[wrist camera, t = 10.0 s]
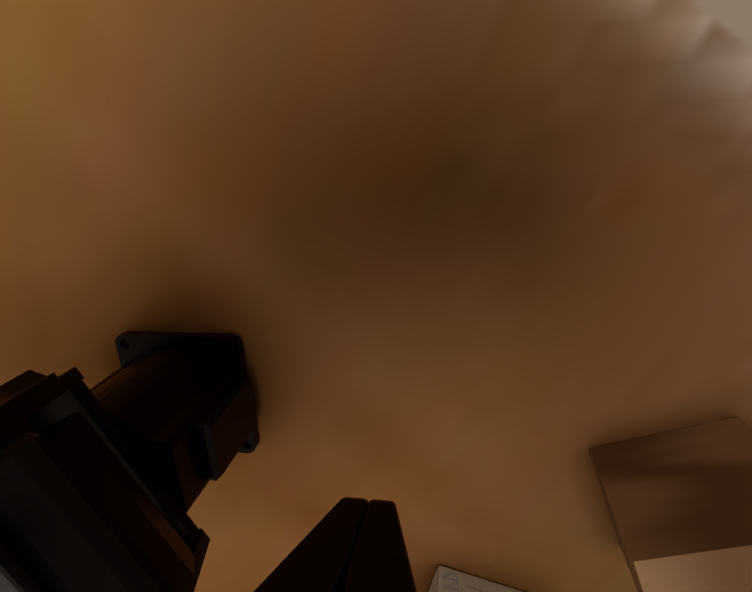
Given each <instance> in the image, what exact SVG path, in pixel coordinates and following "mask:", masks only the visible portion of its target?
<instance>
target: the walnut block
mask: <svg viewBox="0 0 752 592" xmlns="http://www.w3.org/2000/svg"><path fill="white" fill-rule="evenodd" d="M588 449H589V452H590V455H591V458H592V461H593V464H594V467H595V470H596V473H597V476H598V479H599V482H600V485H601V488H602V491H603V494H604V497H605V500H606V503H607V506H608V509H609V512H610V515H611V518H612V521H613V524H614V527H615V530H616V533H617V536H618V539H619V542H620V545H621V548H622V551H623V553H624V556H625V559H626V561H627V564H628V566H629V569H630V572H631V574H632V577H633V580H634V582H635V585H636V587H637V590H638V592H752V431H751V430H750V429H749V428H748V427H747V426H746V425H745V424H744V423H743V422H742V421H741V420H740V419H739V418H738V417H733V418H728V419H723V420H719V421H714V422H709V423H704V424H700V425H695V426H690V427H686V428H681V429H676V430H671V431H667V432H662V433H657V434H652V435H648V436H643V437H638V438H633V439H629V440H624V441H619V442H615V443H610V444H605V445H600V446H596V447H591V448H588Z"/></svg>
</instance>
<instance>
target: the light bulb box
mask: <svg viewBox="0 0 752 592" xmlns="http://www.w3.org/2000/svg"><path fill="white" fill-rule="evenodd" d="M428 592H523V591H520V590H516V589H513V588H510V587H507V586H504V585H501V584H497V583H494V582H491V581H488V580H485V579H482V578H479V577H475V576H472V575H469V574H466V573H463V572H459V571H456V570H453V569H450V568H447V567H444V566H440V565H439V566H438V567H437V570H436V572H435V575H434V578H433V580H432V583H431V586H430V589H429V591H428Z"/></svg>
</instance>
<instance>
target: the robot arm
mask: <svg viewBox="0 0 752 592" xmlns="http://www.w3.org/2000/svg"><path fill="white" fill-rule="evenodd" d="M125 340H126V341H127V342H128V343H129V345H128V344H127V343H126V341H125ZM228 342H230V343H231V344H232V345H233V347H234V348H231V347H230V346H229V345H228ZM115 343H116V347H117V351H118V355H119V359H120V362H121V366H122V367H121V368H119V369H118V370H117V371H115V372H114V373H112V374H111V375H109V376H108V377H107V378H105V379H104V380H102V381H101V382H100V383H98V384H97V385H95V386H94V387H92V388H91V389H90V390H89V388H88V387H87V386H86V384H85V383H84V382H83V381H82V379H84V377H83V376H82V374H81V373H80V372H79V371H78V369H77V368H76V367H73V368H72V369H70V370H68V371H66V372H65V373H63V374H61V375H59V376H57V375H56V374H55V373H52V374H50V375H48V376H45V375H43V374H40V373H37V372H34V371H31V370H28V371H26V372H24V373H23V374H21V375H19V376H17V377H16V378H14V379H12V380H10V381H8V382H7V383H5V384H3V385H1V386H0V592H194V590H195V586H196V583H197V580H198V577H199V574H200V570H201V567H202V564H203V561H204V558H205V554H206V551H207V548H208V545H209V541H210V538H209V537H208V536H207V534H206V533H205V532H204V531H203V529H198V527H197V526H196V525H195V524H194V522H193V521H192V520H191V518H190V517H189V516H188V515H187V511H188V510H189V509H190V507H191V506H192V504H193V503H194V502H195V500H196V499H197V497H198V496H199V495H200V493H201V492H202V490H203V489H204V488H205V486H206V485H207V483H208V482H209V480H215V481H216V480H218V479H219V478H220V477H221V476H222V474H223V473H224V472H225V470H226V469H227V467H228V466H229V464H230V463H231V461H232V460H233V458H234V457H235V455H236V454H237V453H238V452H241V453H251V452H253V451H254V450H255V448H256V447H257V445H258V443H259V440H258V434H257V428H256V425H257V423H258V418H257V412H256V406H255V400H254V394H253V388H252V382H251V379H250V378H249V376H248V374H247V368H246V362H245V357H244V351H243V345H242V341H241V339H240V338H239V337H238V336H236V335H234V334H219V333H172V332H124V333H122V334H121V335H119V336H118V337H116V340H115ZM246 441H248V442H249V443H250V444H248V443H247V442H246ZM254 592H417V591H416V587H415V582H414V578H413V574H412V570H411V566H410V562H409V558H408V554H407V550H406V545H405V541H404V537H403V533H402V529H401V525H400V521H399V517H398V512H397V508H396V505H395V503H394V502H393V501H386V500H375V499H373V500H371V501H370V502H368V501H367V500H366V499H363V498H352V497H345V498H343V499H341V500H340V501H339V502H338V503H337V504H336V505H335V506H334V507H333V508H332V509H331V510H330V512H329V513H328V514H327V515H326V516H325V517H324V518H323V519H322V520H321V521H320V522H319V523H318V524H317V525H316V526H315V527H314V528H313V530H312V531H311V532H310V533H309V534H308V535H307V536H306V537H305V538H304V539H303V540H302V541H301V542H300V543H299V544H298V545H297V546H296V548H295V549H294V550H293V551H292V552H291V553H290V554H289V555H288V556H287V557H286V558H285V559H284V560H283V561H282V562H281V563H280V564H279V565H278V567H277V568H276V569H275V570H274V571H273V572H272V573H271V574H270V575H269V576H268V577H267V578H266V579H265V580H264V581H263V582H262V583H261V585H260V586H259V587H258V588H257V589H256V590H255V591H254Z"/></svg>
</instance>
